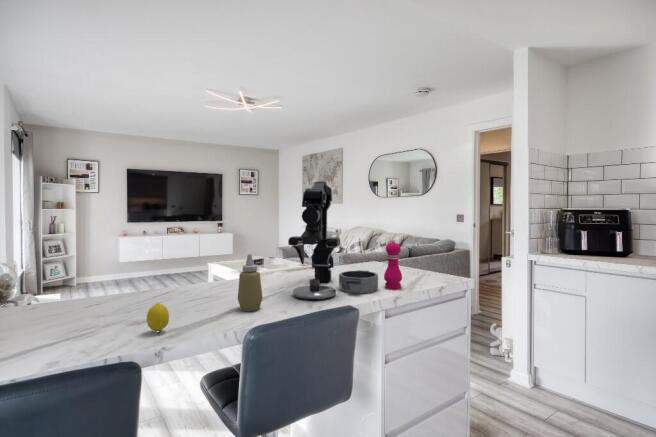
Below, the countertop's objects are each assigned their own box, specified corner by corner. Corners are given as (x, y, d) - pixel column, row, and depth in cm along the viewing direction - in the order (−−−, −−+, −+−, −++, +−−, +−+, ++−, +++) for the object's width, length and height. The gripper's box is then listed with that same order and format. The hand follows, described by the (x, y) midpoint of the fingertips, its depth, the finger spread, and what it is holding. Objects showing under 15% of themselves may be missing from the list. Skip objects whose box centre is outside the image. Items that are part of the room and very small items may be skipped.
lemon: (151, 329, 104) (150, 300, 104) (172, 328, 105) (171, 300, 104) (143, 336, 99) (142, 306, 98) (165, 335, 99) (164, 305, 99)
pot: (333, 294, 142) (333, 278, 141) (346, 282, 162) (346, 268, 161) (373, 297, 137) (373, 281, 137) (380, 284, 158) (381, 270, 157)
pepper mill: (401, 286, 155) (401, 237, 154) (402, 290, 148) (403, 239, 147) (383, 285, 156) (383, 237, 155) (384, 289, 149) (384, 239, 148)
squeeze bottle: (267, 306, 125) (266, 253, 124) (254, 313, 118) (254, 257, 117) (246, 304, 128) (245, 252, 127) (232, 311, 120) (231, 255, 119)
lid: (286, 300, 134) (286, 283, 134) (301, 289, 150) (301, 274, 149) (329, 303, 130) (329, 285, 130) (340, 292, 145) (340, 276, 145)
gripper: (282, 223, 133) (282, 267, 134) (333, 224, 128) (333, 269, 129) (293, 221, 144) (293, 261, 145) (340, 222, 139) (340, 264, 140)
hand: (314, 264), depth 139 cm, fingers open, 9 cm apart
